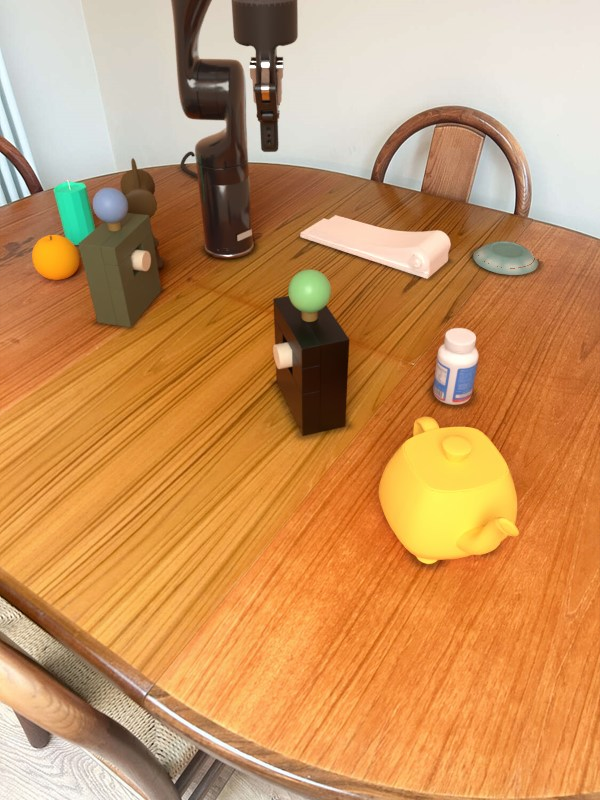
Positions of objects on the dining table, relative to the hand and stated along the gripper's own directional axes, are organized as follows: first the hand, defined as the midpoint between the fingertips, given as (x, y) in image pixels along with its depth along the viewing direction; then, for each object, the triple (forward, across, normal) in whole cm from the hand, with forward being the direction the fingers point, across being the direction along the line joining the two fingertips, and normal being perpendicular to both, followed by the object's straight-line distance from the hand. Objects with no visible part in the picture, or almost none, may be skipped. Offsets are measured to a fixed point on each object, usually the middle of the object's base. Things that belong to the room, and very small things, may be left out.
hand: (270, 149), depth 85 cm
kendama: (+29, +23, +24) cm, 44 cm away
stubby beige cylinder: (+22, -18, -2) cm, 28 cm away
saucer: (+26, +24, -42) cm, 55 cm away
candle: (+29, +35, +40) cm, 61 cm away
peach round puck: (+22, +8, +22) cm, 32 cm away
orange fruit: (+29, +20, +40) cm, 53 cm away
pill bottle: (+29, -15, -25) cm, 41 cm away
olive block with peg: (+29, +9, +25) cm, 39 cm away
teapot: (+29, -40, -20) cm, 53 cm away
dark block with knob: (+29, -17, -5) cm, 34 cm away
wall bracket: (+25, +29, -17) cm, 42 cm away
